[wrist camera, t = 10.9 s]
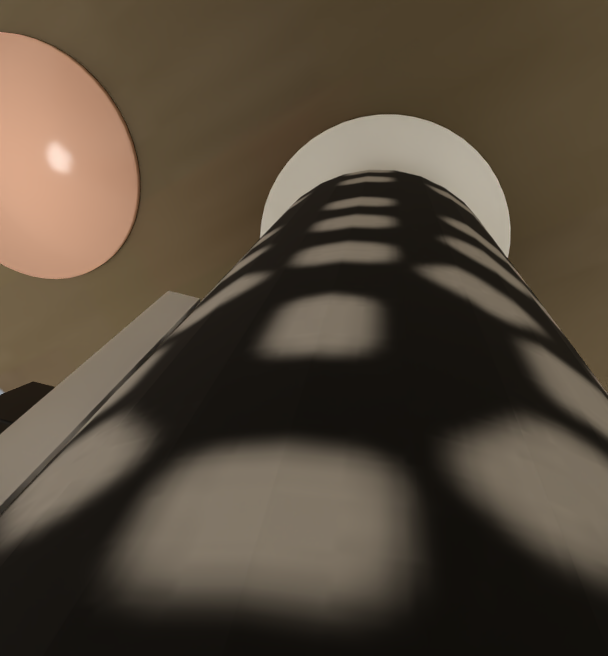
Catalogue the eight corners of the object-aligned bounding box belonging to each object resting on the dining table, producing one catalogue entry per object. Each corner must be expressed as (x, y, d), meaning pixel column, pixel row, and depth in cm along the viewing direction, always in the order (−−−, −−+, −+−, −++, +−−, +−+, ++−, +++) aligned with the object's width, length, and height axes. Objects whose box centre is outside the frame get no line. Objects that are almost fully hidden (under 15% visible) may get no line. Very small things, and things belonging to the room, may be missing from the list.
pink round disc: (-95, 10, 22) (-103, 9, 21) (145, 60, 21) (140, 60, 21) (-60, 250, 27) (-67, 252, 26) (135, 297, 26) (132, 300, 25)
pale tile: (283, 89, 21) (281, 89, 20) (549, 145, 20) (552, 146, 20) (247, 324, 25) (245, 327, 25) (461, 376, 25) (462, 380, 24)
